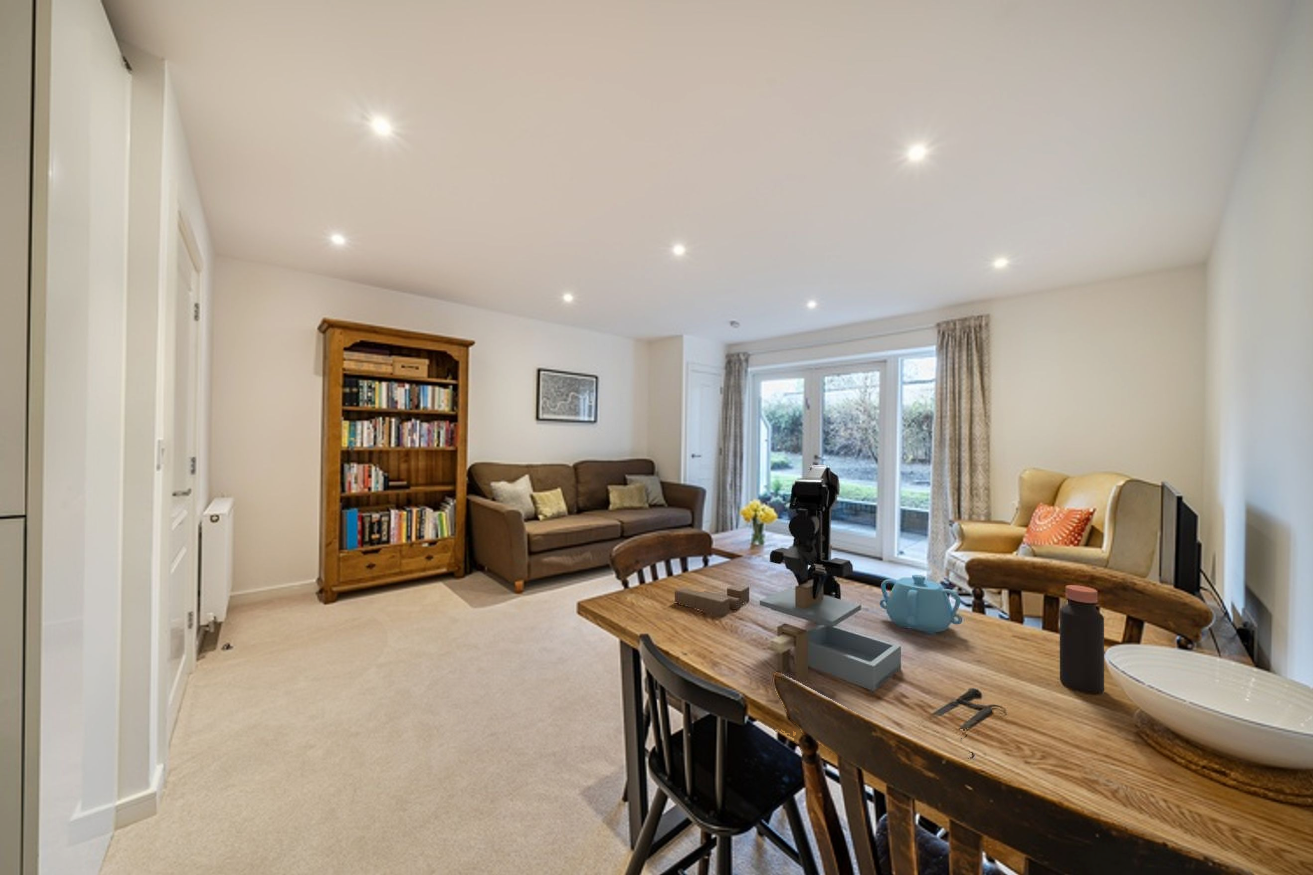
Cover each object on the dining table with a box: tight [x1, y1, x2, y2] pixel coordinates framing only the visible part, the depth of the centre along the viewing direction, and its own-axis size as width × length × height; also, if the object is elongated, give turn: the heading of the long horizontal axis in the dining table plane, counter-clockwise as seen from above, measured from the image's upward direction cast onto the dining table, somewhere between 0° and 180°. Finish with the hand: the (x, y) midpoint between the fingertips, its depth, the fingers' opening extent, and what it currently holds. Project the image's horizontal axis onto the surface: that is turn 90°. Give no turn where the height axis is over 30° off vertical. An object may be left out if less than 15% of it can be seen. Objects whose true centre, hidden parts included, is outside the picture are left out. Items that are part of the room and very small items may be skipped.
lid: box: [759, 579, 862, 627], centre depth 114 cm, size 14×18×7 cm
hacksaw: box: [918, 687, 1007, 760], centre depth 85 cm, size 24×10×2 cm, turn 122°
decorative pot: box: [879, 574, 963, 635], centre depth 129 cm, size 16×16×14 cm
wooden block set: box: [674, 584, 750, 617], centre depth 147 cm, size 17×6×18 cm
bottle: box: [1059, 584, 1105, 695], centre depth 97 cm, size 7×7×20 cm
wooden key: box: [770, 633, 795, 654], centre depth 102 cm, size 10×2×2 cm, turn 133°
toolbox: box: [776, 623, 902, 692], centre depth 105 cm, size 21×18×10 cm
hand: (809, 597), depth 114 cm, fingers closed on lid, 2 cm apart
